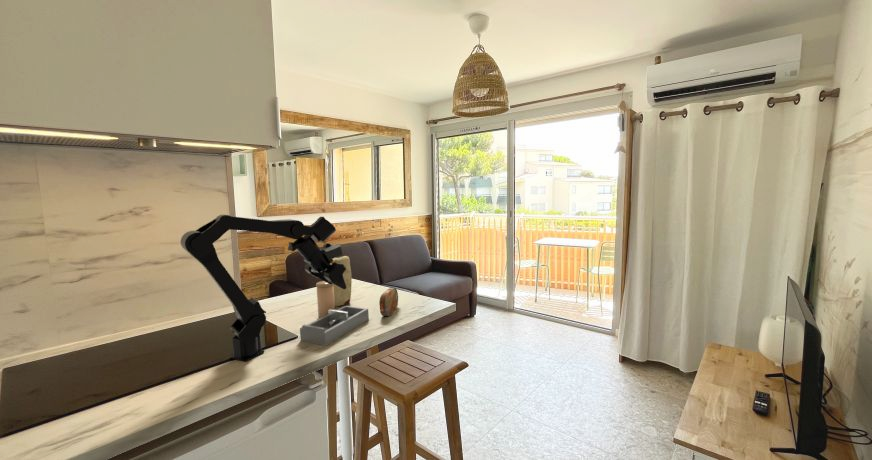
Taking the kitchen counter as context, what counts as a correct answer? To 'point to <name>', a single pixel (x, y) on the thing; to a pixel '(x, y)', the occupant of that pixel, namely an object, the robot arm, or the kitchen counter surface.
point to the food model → (339, 293)
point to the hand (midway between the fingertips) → (338, 285)
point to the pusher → (336, 317)
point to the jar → (325, 298)
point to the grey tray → (333, 326)
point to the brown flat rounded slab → (388, 302)
